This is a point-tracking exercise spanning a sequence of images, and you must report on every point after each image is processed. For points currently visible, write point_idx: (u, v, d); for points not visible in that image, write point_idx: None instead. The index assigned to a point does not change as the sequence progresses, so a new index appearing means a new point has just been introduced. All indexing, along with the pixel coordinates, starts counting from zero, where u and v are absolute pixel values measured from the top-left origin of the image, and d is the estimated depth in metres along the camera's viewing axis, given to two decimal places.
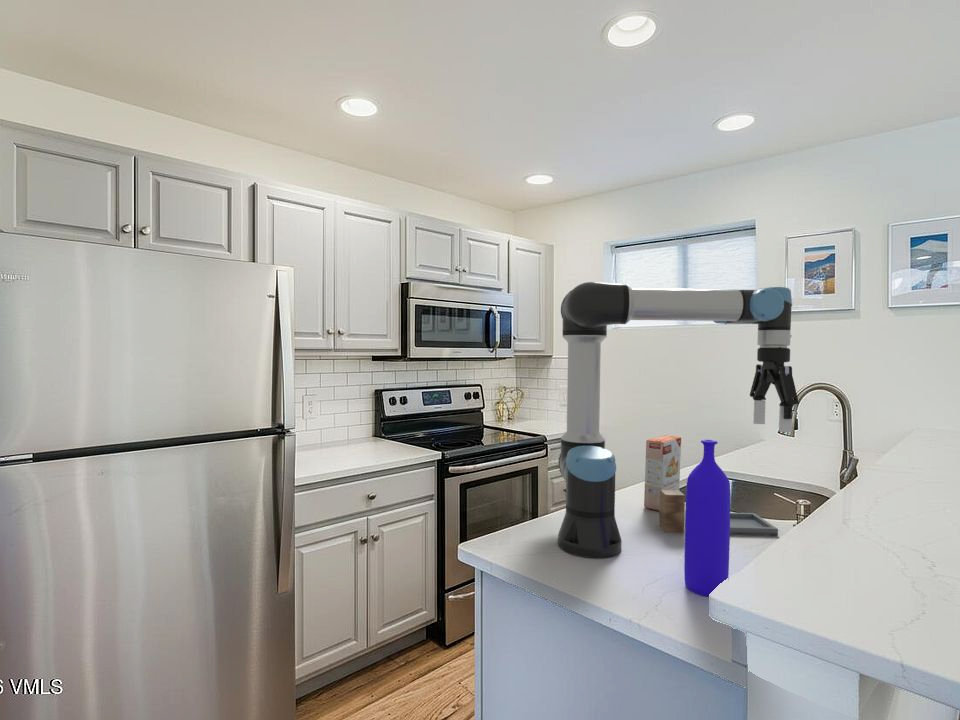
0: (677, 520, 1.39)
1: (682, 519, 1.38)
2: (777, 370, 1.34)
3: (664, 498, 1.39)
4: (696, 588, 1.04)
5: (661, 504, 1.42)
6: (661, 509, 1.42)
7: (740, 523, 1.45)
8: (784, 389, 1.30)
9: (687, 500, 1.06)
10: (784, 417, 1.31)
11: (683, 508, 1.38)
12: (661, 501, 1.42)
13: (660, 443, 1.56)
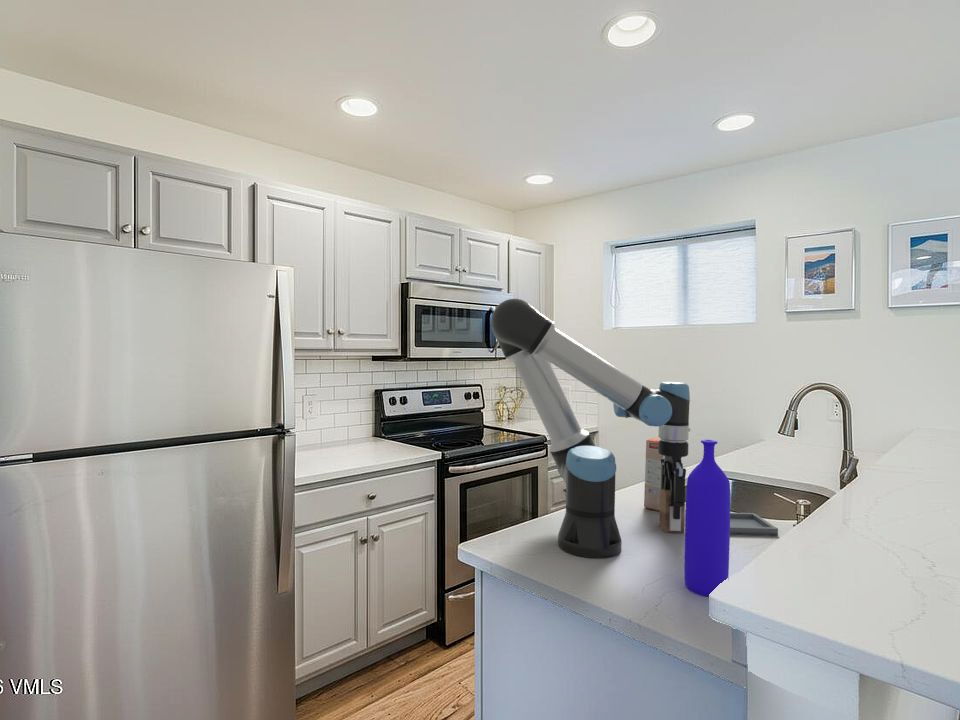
0: None
1: (682, 519, 1.38)
2: (674, 467, 1.37)
3: (664, 498, 1.39)
4: (696, 588, 1.04)
5: (661, 504, 1.42)
6: (661, 509, 1.42)
7: (740, 523, 1.45)
8: (674, 491, 1.35)
9: (687, 500, 1.06)
10: (673, 517, 1.37)
11: (683, 508, 1.38)
12: (661, 501, 1.42)
13: None
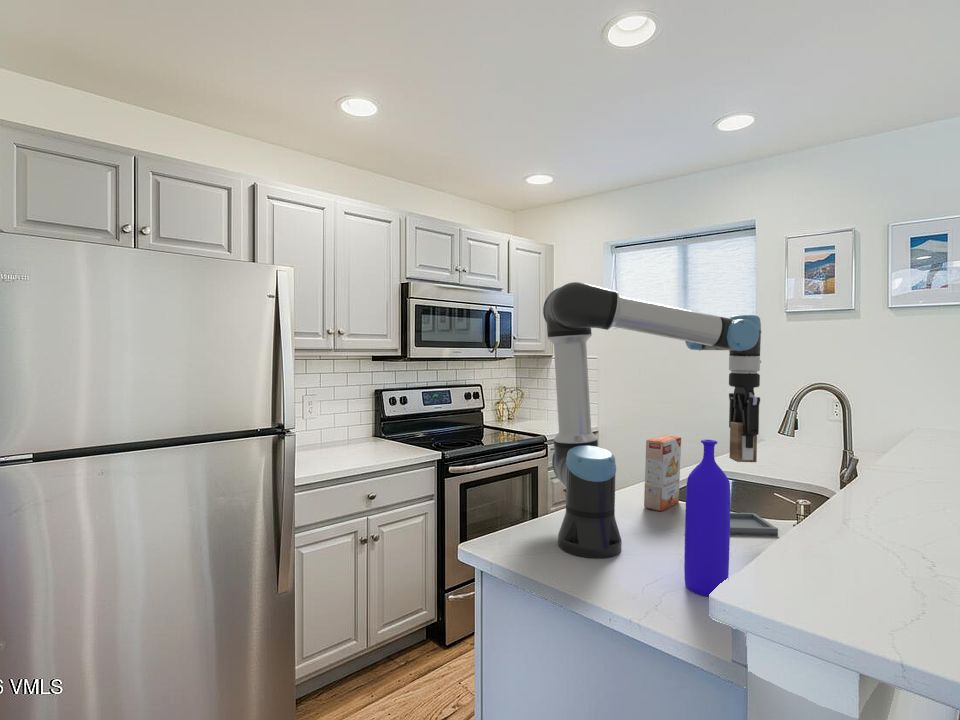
0: None
1: (754, 448, 1.41)
2: (746, 397, 1.39)
3: (736, 428, 1.42)
4: (696, 588, 1.04)
5: (732, 435, 1.45)
6: (732, 440, 1.44)
7: (740, 523, 1.45)
8: (748, 420, 1.38)
9: (687, 500, 1.06)
10: (746, 446, 1.40)
11: (755, 438, 1.41)
12: (732, 433, 1.45)
13: (660, 443, 1.56)
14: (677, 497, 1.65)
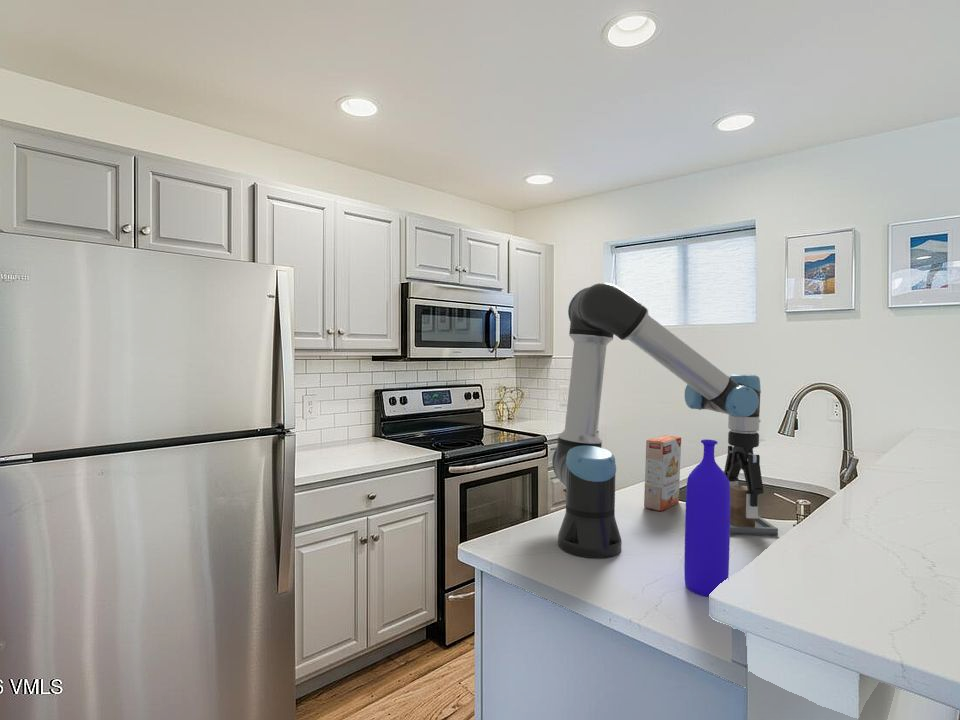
0: None
1: None
2: (746, 456, 1.40)
3: (735, 493, 1.42)
4: (696, 588, 1.04)
5: (731, 499, 1.45)
6: (731, 504, 1.45)
7: None
8: (751, 478, 1.36)
9: (687, 500, 1.06)
10: (750, 504, 1.37)
11: None
12: (731, 496, 1.45)
13: (660, 443, 1.56)
14: (677, 497, 1.65)
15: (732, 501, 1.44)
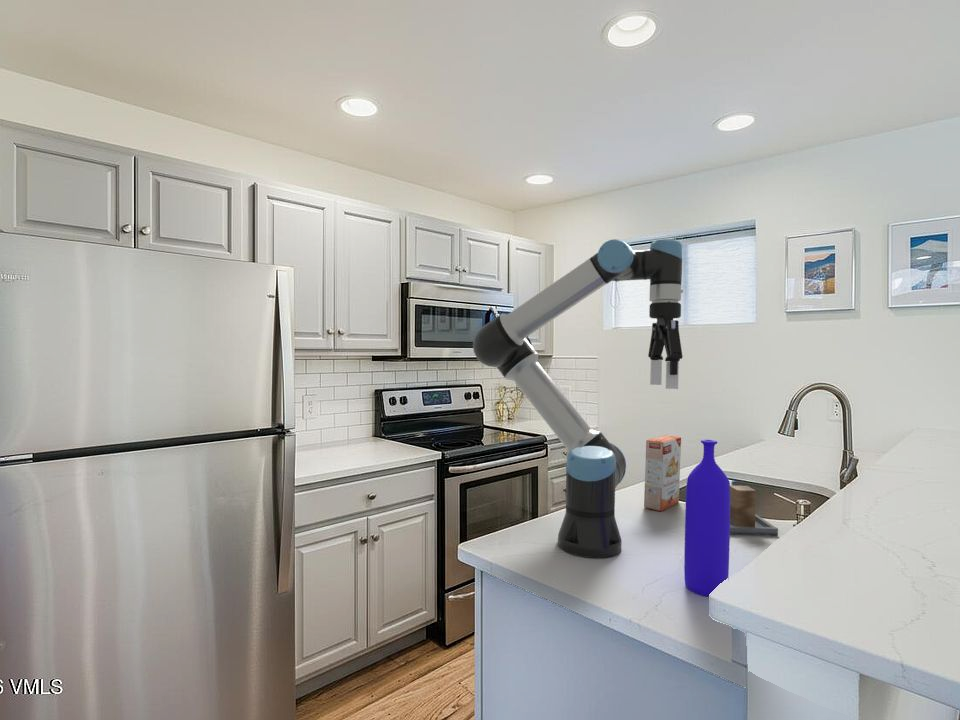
0: (748, 515, 1.42)
1: (753, 514, 1.41)
2: (665, 325, 1.29)
3: (735, 493, 1.42)
4: (696, 588, 1.04)
5: (731, 499, 1.45)
6: (731, 504, 1.45)
7: None
8: (669, 344, 1.25)
9: (687, 500, 1.06)
10: (670, 373, 1.26)
11: (754, 503, 1.41)
12: (731, 496, 1.45)
13: (660, 443, 1.56)
14: (677, 497, 1.65)
15: (732, 501, 1.44)
